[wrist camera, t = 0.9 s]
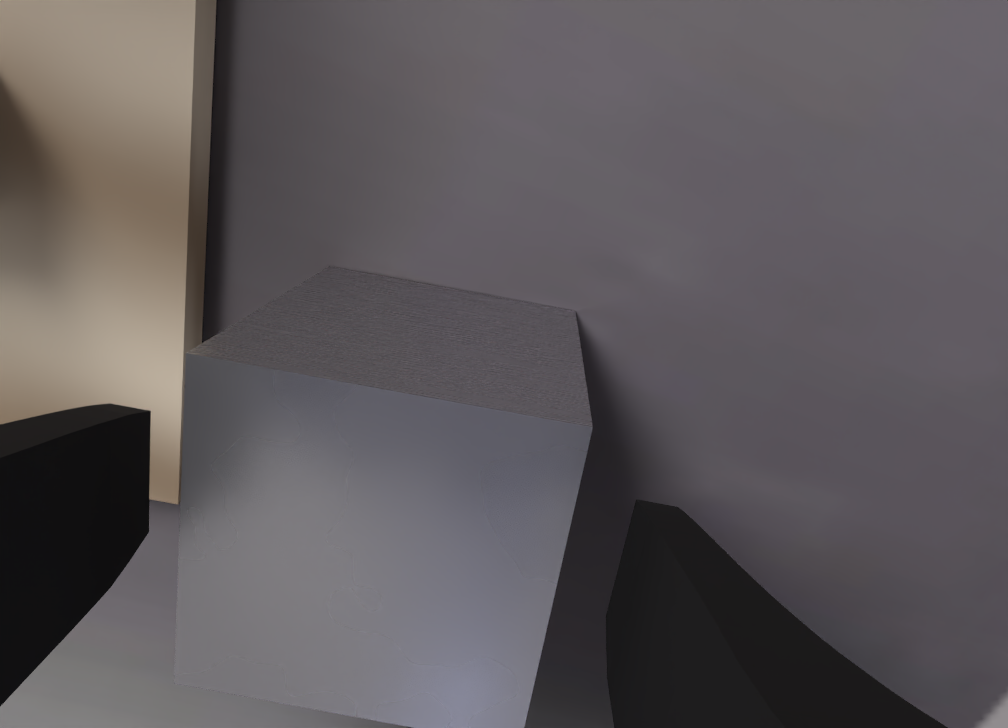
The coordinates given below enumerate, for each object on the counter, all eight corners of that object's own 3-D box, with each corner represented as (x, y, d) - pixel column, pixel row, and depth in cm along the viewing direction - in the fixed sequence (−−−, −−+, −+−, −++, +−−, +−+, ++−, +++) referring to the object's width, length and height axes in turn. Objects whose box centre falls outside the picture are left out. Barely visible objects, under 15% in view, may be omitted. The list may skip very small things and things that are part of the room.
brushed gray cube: (530, 528, 16) (519, 746, 10) (307, 486, 16) (173, 683, 10) (575, 310, 14) (592, 427, 9) (328, 266, 14) (186, 353, 9)
